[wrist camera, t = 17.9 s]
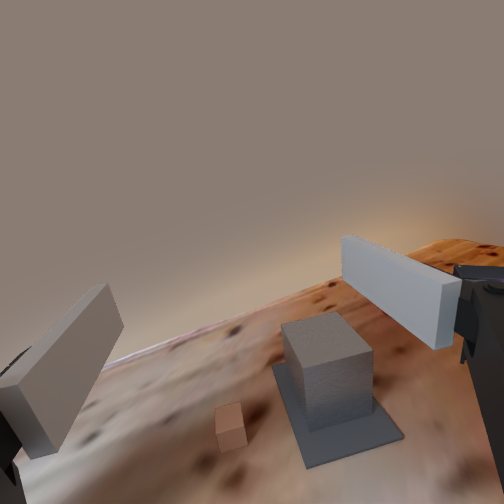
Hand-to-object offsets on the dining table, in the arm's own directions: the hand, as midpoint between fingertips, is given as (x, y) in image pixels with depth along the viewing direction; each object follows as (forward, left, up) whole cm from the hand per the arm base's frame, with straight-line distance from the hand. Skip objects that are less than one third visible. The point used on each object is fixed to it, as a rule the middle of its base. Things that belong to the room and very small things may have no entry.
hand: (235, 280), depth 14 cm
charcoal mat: (+12, +17, -32) cm, 38 cm away
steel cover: (+12, +17, -32) cm, 38 cm away
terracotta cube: (-4, +15, -32) cm, 36 cm away
